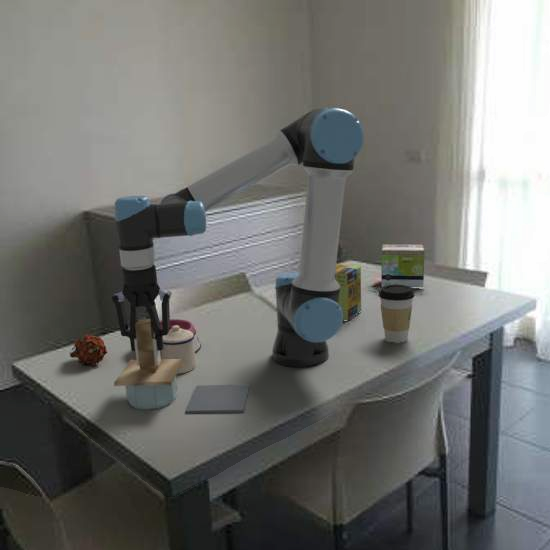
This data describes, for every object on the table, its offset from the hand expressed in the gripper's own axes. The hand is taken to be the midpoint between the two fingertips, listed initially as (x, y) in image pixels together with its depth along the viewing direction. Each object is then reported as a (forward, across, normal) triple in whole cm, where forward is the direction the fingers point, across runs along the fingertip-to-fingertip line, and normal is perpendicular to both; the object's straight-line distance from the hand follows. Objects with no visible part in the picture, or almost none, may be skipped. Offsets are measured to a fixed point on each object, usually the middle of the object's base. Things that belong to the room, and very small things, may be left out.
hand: (149, 363), depth 144 cm
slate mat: (+9, -16, +1) cm, 18 cm away
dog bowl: (+10, +4, -31) cm, 33 cm away
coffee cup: (+9, -62, -35) cm, 71 cm away
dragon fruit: (+9, +24, -23) cm, 34 cm away
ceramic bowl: (+9, 0, 0) cm, 9 cm away
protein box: (+9, -44, -59) cm, 74 cm away
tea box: (+9, -70, -89) cm, 114 cm away
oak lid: (+3, 0, 0) cm, 3 cm away
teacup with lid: (+9, -2, -17) cm, 19 cm away
